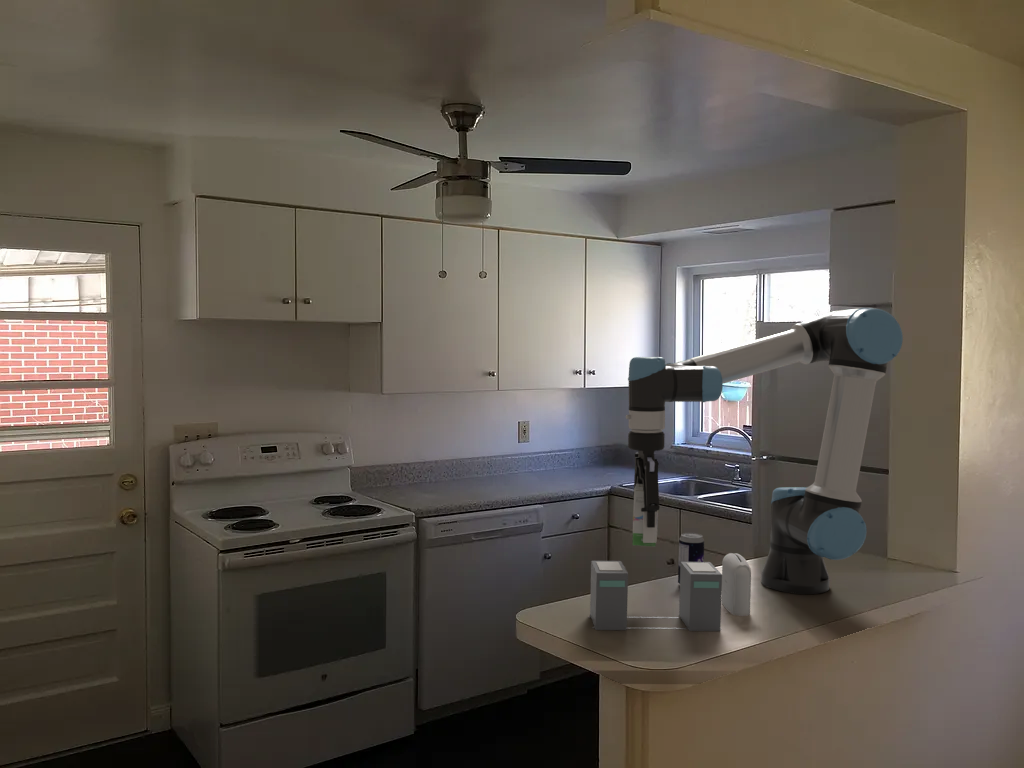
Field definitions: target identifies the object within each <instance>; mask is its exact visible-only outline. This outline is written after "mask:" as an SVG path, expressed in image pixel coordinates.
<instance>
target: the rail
mask: <svg viewBox="0 0 1024 768" xmlns="http://www.w3.org/2000/svg"><path fill="white" fill-rule="evenodd" d="M588 618H591V616H589V615H588ZM627 619H681V618H680V616H627ZM591 629H595V627H594V626H592V627H591ZM628 629H629V630H635V629H636V630H688V628H687V627H641V626H640V627H633V626H630V627H629V626H628V627H627V630H628ZM721 630H722V628H721V627H720V631H721Z"/></svg>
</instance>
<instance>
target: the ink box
mask: <svg viewBox="0 0 1024 768" xmlns="http://www.w3.org/2000/svg"><path fill="white" fill-rule="evenodd" d="M659 485H660V484H658V489H659V487H660V486H659ZM633 492H634V495H633V507H632V508H633V509H632V510H633V513H632V540H631V541H632V546H639V547H654V548H655V547H656V546H657V545H656V544H657V543H643V512H641V508H644V491H643V484H636V486H635V488H634V487H633ZM658 521H659V510H657V528H658V527H659V525H658V524H659V523H658Z"/></svg>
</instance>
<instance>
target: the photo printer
mask: <svg viewBox="0 0 1024 768" xmlns="http://www.w3.org/2000/svg"><path fill="white" fill-rule="evenodd" d="M721 565H722V566H721V568H722V569H721V574H722V594H721V605H723V606H724V608H725V609H726V610H727V611H728V612H729V614H731V615H732V616H739V617H746V616H750V615H751V596H752V595H751V591H752V590H751V589H752V569H751V566H750V564H749V563H748V561H747V559H745V557H744V556H742V555H741V554H739V553H732V552H729V553H727V554H726V555H725V556H724V557H723V558H722V564H721Z"/></svg>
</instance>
